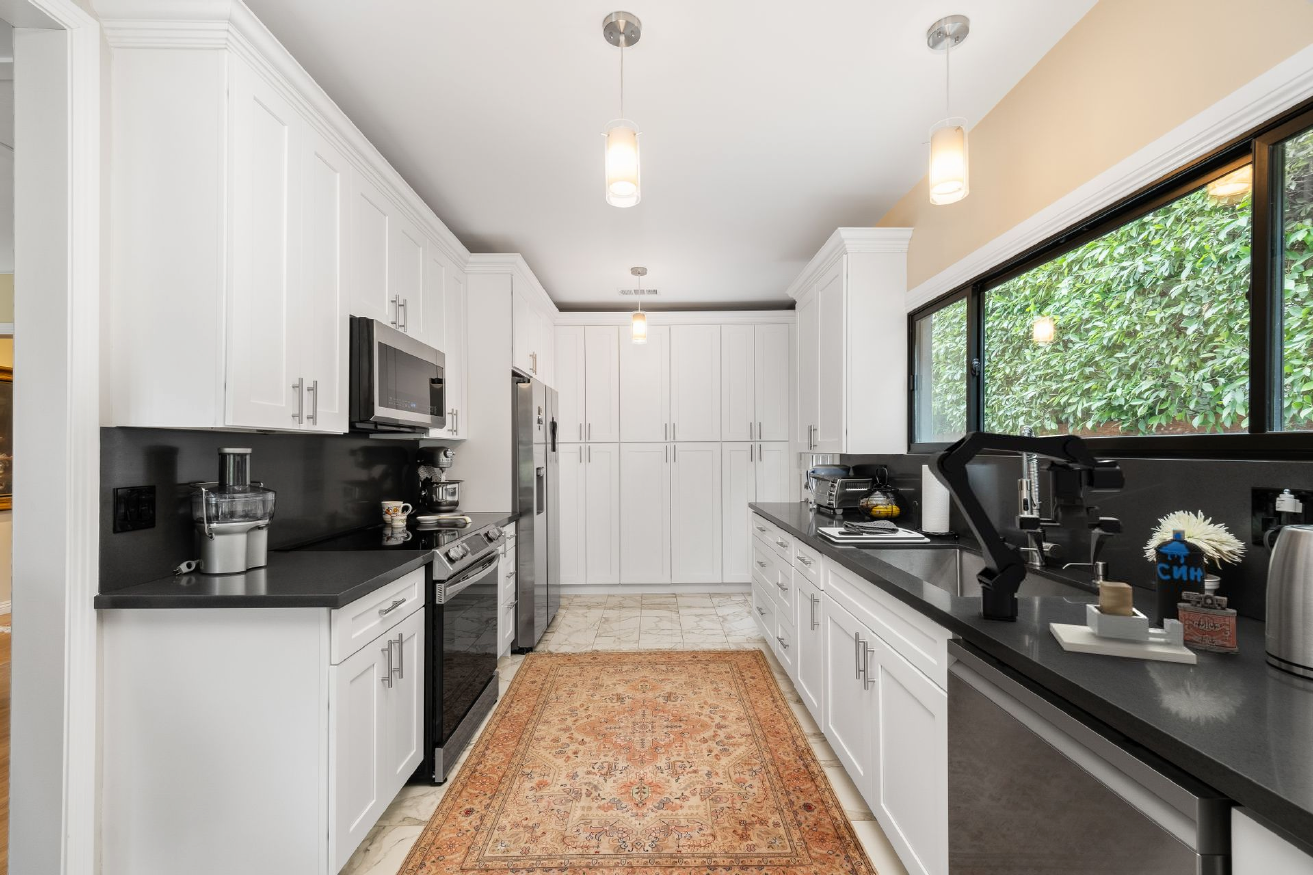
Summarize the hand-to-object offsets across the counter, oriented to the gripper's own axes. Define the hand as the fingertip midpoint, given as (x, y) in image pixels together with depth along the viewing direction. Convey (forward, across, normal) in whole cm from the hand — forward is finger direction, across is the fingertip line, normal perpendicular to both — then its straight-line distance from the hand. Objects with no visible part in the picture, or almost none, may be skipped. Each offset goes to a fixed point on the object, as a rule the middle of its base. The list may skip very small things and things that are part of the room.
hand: (1067, 563), depth 131 cm
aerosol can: (+12, +20, +2) cm, 24 cm away
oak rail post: (+8, +4, -18) cm, 20 cm away
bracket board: (+12, +4, -18) cm, 22 cm away
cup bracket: (+10, +7, -18) cm, 22 cm away
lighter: (+12, +19, -13) cm, 26 cm away
